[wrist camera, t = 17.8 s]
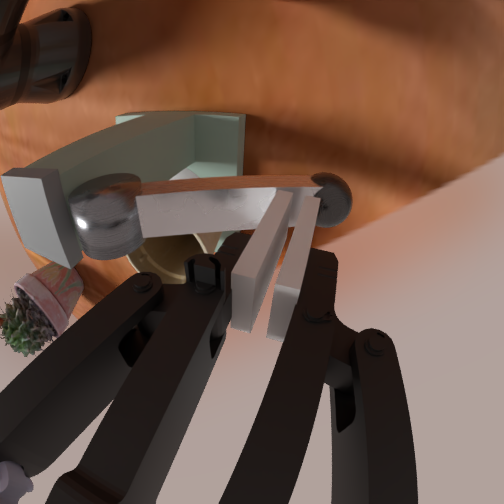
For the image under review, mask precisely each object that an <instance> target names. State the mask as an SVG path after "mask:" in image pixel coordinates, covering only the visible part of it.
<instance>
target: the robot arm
mask: <svg viewBox="0 0 504 504" xmlns="http://www.w3.org/2000/svg"><path fill="white" fill-rule="evenodd" d="M28 2H29V0H0V110H2V109H4V108H6V107H9V106H11V105H14V104H16V103H43V104H47V103H53V102H56V101H59V100H62V99H64V98H66V97H68V96H69V95H70V94H71V93H72V92H73V91H74V90H75V89H76V87H77V86H78V84H79V83H80V81H81V79H82V77H83V75H84V72H85V70H86V67H87V64H88V60H89V56H90V50H91V28H90V23H89V20H88V18H87V16H86V15H85V13H84V12H83V11H81V10H80V9H77V8H60V9H56V10H53V11H51V12H48V13H46V14H43V15H41V16H39V17H36V18H34V19H32V20H30V21H27V22H25V23H21V24H19V22H20V20H21V17H22V15H23V13H24V10H25V8H26V6H27V4H28ZM292 198H293V193H292V192H287V191H282V190H278V191H277V193H276V195H275V196H274V198H273V200H272V202H271V203H270V205H269V207H268V209H267V210H266V212H265V214H264V216H263V217H262V219H261V221H260V223H259V224H258V226H257V228H256V230H255V231H254V233H253V235H248V234H244V233H239V232H235V233H233V234H231V235H230V236H228V237H226V239H225V240H224V242H223V243H222V245H221V246H220V248H219V249H218V250H217V252H216V253H215V255H213V254H207V253H202V254H196V255H193V256H191V257H189V258H188V259H187V260H185V261H184V267H185V274H186V283H184V284H163V283H162V281H161V278H160V277H159V276H158V275H157V274H156V273H152V272H140V273H136V274H135V275H133V276H131V277H130V278H128V279H127V280H126V281H125V282H123V283H122V284H121V285H120V286H118V287H117V288H116V289H115V290H113V291H112V292H111V293H110V294H109V295H107V296H106V297H105V298H104V299H102V300H101V301H100V302H99V303H98V304H96V305H95V306H94V307H93V308H92V309H90V310H89V311H88V312H87V313H86V314H85V315H83V316H82V317H81V318H80V319H79V320H78V321H76V322H75V323H74V324H73V325H72V326H71V327H70V328H68V329H67V330H66V331H65V332H64V333H63V334H62V335H60V336H59V337H58V338H57V339H56V340H55V341H54V342H53V343H52V344H51V345H49V346H48V347H47V348H46V349H45V350H44V351H43V352H42V353H41V354H40V355H38V356H37V357H36V358H35V359H34V360H33V361H32V362H31V363H30V364H29V365H28V366H27V367H26V368H25V369H24V370H23V371H22V372H21V373H20V374H19V375H18V376H17V377H16V378H15V379H14V380H13V381H12V382H11V383H10V384H9V385H8V386H7V387H6V388H5V389H4V390H3V391H2V392H1V393H0V504H18V501H19V499H20V498H21V497H22V496H23V495H24V494H25V493H26V492H32V490H33V483H32V481H31V479H30V477H32V476H35V475H37V474H39V473H41V472H42V471H44V470H45V469H46V468H48V467H49V466H50V465H51V464H52V463H53V462H54V461H55V460H56V459H57V458H58V457H59V456H60V455H61V454H62V453H63V452H64V451H65V450H66V449H67V448H68V447H69V445H70V444H71V443H72V442H73V441H74V440H75V439H76V438H77V437H78V436H79V435H80V434H81V433H82V432H83V431H84V430H85V429H86V428H87V426H89V424H90V423H91V422H92V421H93V420H94V419H95V418H96V417H97V416H98V415H99V414H100V413H101V412H102V411H103V410H104V409H105V408H106V407H107V406H108V404H110V402H111V401H112V400H113V399H114V400H113V402H112V404H111V405H110V407H109V409H108V411H107V413H106V414H105V416H104V418H103V420H102V421H101V423H100V425H99V427H98V429H97V431H96V433H95V434H94V436H93V438H92V440H91V442H90V444H89V445H88V448H87V449H86V451H85V453H84V455H83V457H82V459H81V461H80V463H79V464H78V466H77V467H76V468H75V469H74V470H72V471H69V472H67V473H64V474H63V475H62V476H61V477H59V478H58V480H57V481H56V483H55V484H54V486H53V488H52V490H51V492H50V494H49V496H48V499H47V501H46V503H45V504H156V499H157V497H158V494H159V492H160V490H161V488H162V485H163V483H164V481H165V479H166V476H167V474H168V472H169V469H170V467H171V465H172V463H173V460H174V458H175V455H176V454H177V451H178V449H179V446H180V444H181V442H182V440H183V437H184V435H185V433H186V431H187V428H188V426H189V424H190V421H191V419H192V417H193V414H194V412H195V410H196V407H197V405H198V403H199V400H200V398H201V395H202V393H203V391H204V389H205V386H206V384H207V382H208V379H209V377H210V375H211V372H212V370H213V367H214V365H215V363H216V360H217V358H218V356H219V353H220V350H221V348H222V346H223V344H224V341H225V339H226V328H227V326H228V324H229V322H230V320H231V328H234V329H237V330H240V331H244V332H247V333H251V330H252V327H253V325H254V322H255V320H256V317H257V315H258V312H259V310H260V307H261V305H262V302H263V299H264V297H265V294H266V292H267V289H268V286H269V284H270V281H271V279H272V276H273V273H274V271H275V268H276V265H277V263H278V260H279V257H280V255H281V252H282V249H283V247H284V244H285V241H286V238H287V232H288V225H289V219H290V212H291V205H292ZM320 199H321V198H316V197H312V196H307V195H305V198H304V201H303V204H302V207H301V210H300V213H299V216H298V219H297V222H296V225H295V228H294V231H293V234H292V237H291V240H290V243H289V246H288V249H287V252H286V254H285V257H284V260H283V263H282V266H281V269H280V272H279V274H278V277H277V280H276V283H275V288H274V295H273V300H272V307H271V313H270V319H269V324H268V331H267V336H266V337H267V338H270V339H274V340H277V341H281V342H283V344H282V347H281V350H280V354H279V356H278V359H277V362H276V365H275V368H274V370H273V373H272V376H271V378H270V381H269V384H268V387H267V389H266V392H265V395H264V398H263V400H262V403H261V406H260V408H259V411H258V413H257V416H256V418H255V421H254V423H253V426H252V429H251V431H250V433H249V436H248V438H247V441H246V443H245V445H244V448H243V450H242V453H241V455H240V457H239V460H238V462H237V464H236V466H235V469H234V471H233V473H232V476H231V478H230V480H229V482H228V484H227V487H226V489H225V491H224V493H223V495H222V497H221V499H220V501H219V504H288V503H289V500H290V498H291V495H292V492H293V489H294V486H295V484H296V481H297V478H298V475H299V472H300V469H301V466H302V463H303V459H304V456H305V453H306V450H307V446H308V443H309V440H310V436H311V432H312V429H313V425H314V421H315V417H316V413H317V409H318V406H319V402H320V397H321V393H322V389H323V384H324V383H326V384H328V385H329V386H330V404H331V427H332V501H331V504H418V491H417V472H416V461H415V451H414V443H413V435H412V430H411V422H410V416H409V410H408V404H407V399H406V394H405V389H404V384H403V380H402V375H401V370H400V366H399V362H398V357H397V353H396V350H395V346H394V344H393V341H392V339H391V338H390V337H389V336H388V335H387V334H386V333H384V332H382V331H380V330H377V329H373V328H370V329H365V330H363V331H361V332H360V333H358V332H356V331H354V330H352V329H350V328H348V327H347V326H345V325H344V324H343V323H342V322H341V321H339V319H338V318H337V316H336V314H335V311H334V303H335V294H336V283H337V271H338V260H337V258H336V256H335V254H334V253H331V252H328V251H323V250H319V249H315V248H310V247H311V242H312V238H313V233H314V228H315V224H316V219H317V214H318V209H319V204H320Z"/></svg>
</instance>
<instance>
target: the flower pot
mask: <svg viewBox="0 0 504 504" xmlns="http://www.w3.org/2000/svg"><path fill="white" fill-rule="evenodd" d="M222 232H223V231H221V232H208V233H195V234H183V235H171V236H159V237H148V238H147V239H146V241H145V242H144V243H143V244H142V245H141V246H140V247H139V248H138V249H136V250H135V251H133V252H132V253H130V254H128V255H126V256H127V258H128V260H129V262H130V263H131V265H132V266H133V267H134V269H135V270H136V271H137V272H138V273H140V272H152V273H156V274H157V275H158V276H159V277H160V278H161V281H162V283H163V284H184V283H186V274H185V267H184V261H185V260H187V259H188V258H189V257H191V256H193V255H196V254H202V253H207V254H213V253H214V251H215V249H216V246H217V244H218V241H219V239H220V236H221V234H222Z"/></svg>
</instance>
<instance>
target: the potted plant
mask: <svg viewBox="0 0 504 504" xmlns="http://www.w3.org/2000/svg"><path fill="white" fill-rule="evenodd" d="M14 289H15V292H16V294H17V296H18V298H14V297H13V298H12V300H13V304H12V305H9V304H6V313H4V314H0V328H1V326H2V328H3V331H2V334H3V335H2V336H5V337H3V338H5V339H6V340H5V341H6V345H7V344H10V346H11V347H12V348H13V350H14V352H17V351H18V353H20V352H22V353H23V354H24V357H27V355H28V354H29V353H30V354H32V355H34V354H35V351H40V350H42V349H41V346H44V344H45V343H44V341H45V342H47V341H48V340H50V341H51V340H52V336H54V337H56V338H58V337H59V336H60V335H61V334H62V333H63V331H64V330H65V329H66V327H67V326H68V322H69V321H68V320H69V318H70V316H71V313H72V311H73V309H74V307H75V305H76V303H77V301H78V299H79V297H80V295H81V293H82V291H83V289H84V284H83V280H82V279H81V277H80V275H79V274H78V272H77V271H76V269H75V268H74V267H73V268H72V269H69V268H67V267H65V266H62V265H60V264H58V263H56V262H54V261H53V262H51V263H49V264H47V265H46V266H44V267H42V268H40V269H38V270H37V271H35V272H33V273H32V274H26V275H24V276H23V277H22V278H21V279H19V280H18V281H17V282H16V283H15V285H14ZM2 328H1V329H2ZM3 338H1V339H3ZM52 341H53V340H52ZM53 342H54V341H53ZM43 351H44V350H43Z"/></svg>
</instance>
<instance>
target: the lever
mask: <svg viewBox="0 0 504 504" xmlns="http://www.w3.org/2000/svg"><path fill="white" fill-rule="evenodd" d="M278 190H282V191H287V192H292V193H293V198H292V205H291V212H290V219H289V225H288V227H295V225H296V222H297V219H298V216H299V213H300V210H301V207H302V204H303V201H304V198H305V195H307V196H312V197H316V198H321V199H320V204H319V209H318V214H317V219H316V224H315V225H316V226H318V227H323V228H328V227H333V226H336V225H338V224H340V223H342V222H343V221H344V220H345V219H346V218H347V216H348V215H349V213H350V211H351V208H352V202H353V200H352V193H351V190H350V188H349V186H348V185H347V183H346V182H345V181H344V180H343V179H342V178H340V177H339V176H337V175H335V174H332V173H326V172H324V173H317V174H314V175H253V176H225V177H206V178H191V179H177V180H166V181H155V182H146V183H141V179H140V178H139V177H138V176H137V175H134V174H130V173H114V174H108V175H104V176H100V177H97V178H94V179H91V180H89V181H87V182H85V183H83V184H81V185H80V186H78V187H77V188H76V189H74V190H73V191H72V192H71V194H70V195H69V197H68V202H69V206H70V210H71V213H72V217H73V220H74V223H75V227H76V230H77V233H78V236H79V239H80V242H81V245H82V248H83V251H84V253H85V254H86V255H87V256H89V257H90V258H93V259H97V260H111V259H116V258H120V257H123V256H125V255H128V254H130V253H132V252H133V251H135V250H136V249H138V248H139V247H140V246H141V245H142V244H143V243H144V242H145V241H146V239H147V238H148V237H159V236H171V235H183V234H195V233H208V232H221V231H234V230H249V229H256V228H257V226H258V224H259V223H260V221H261V219H262V217H263V216H264V214H265V212H266V210H267V209H268V207H269V205H270V203H271V202H272V200H273V198H274V196H275V195H276V193H277V191H278Z"/></svg>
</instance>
